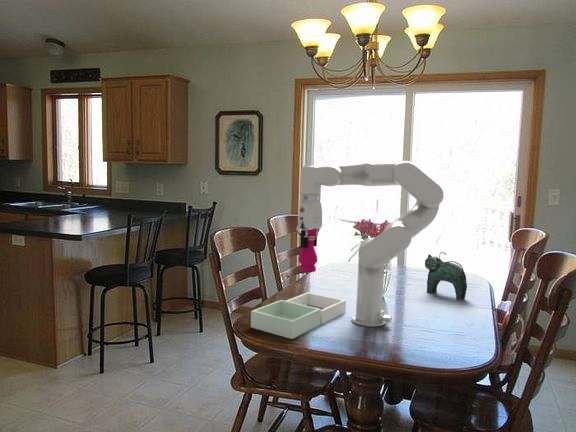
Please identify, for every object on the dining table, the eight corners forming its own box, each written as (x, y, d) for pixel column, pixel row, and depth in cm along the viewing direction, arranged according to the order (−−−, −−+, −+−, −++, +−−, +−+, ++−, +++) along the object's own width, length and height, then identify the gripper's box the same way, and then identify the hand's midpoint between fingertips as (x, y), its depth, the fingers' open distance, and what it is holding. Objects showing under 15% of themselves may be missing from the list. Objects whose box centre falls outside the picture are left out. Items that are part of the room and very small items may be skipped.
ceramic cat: (422, 291, 221) (424, 249, 219) (429, 289, 226) (432, 248, 223) (461, 301, 206) (464, 256, 204) (468, 299, 211) (471, 255, 209)
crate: (345, 312, 186) (345, 300, 186) (321, 324, 172) (322, 311, 171) (307, 303, 197) (308, 292, 196) (282, 314, 182) (282, 301, 182)
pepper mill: (315, 273, 174) (317, 220, 172) (296, 271, 176) (298, 218, 173) (318, 269, 181) (320, 218, 179) (300, 267, 183) (302, 217, 180)
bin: (320, 325, 171) (320, 309, 170) (292, 339, 156) (292, 321, 156) (280, 314, 181) (281, 299, 181) (250, 327, 167) (251, 310, 166)
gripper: (305, 200, 166) (303, 250, 168) (331, 198, 179) (329, 245, 182) (288, 199, 171) (286, 248, 173) (315, 197, 184) (313, 243, 186)
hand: (308, 246), depth 177 cm, fingers closed on pepper mill, 5 cm apart
